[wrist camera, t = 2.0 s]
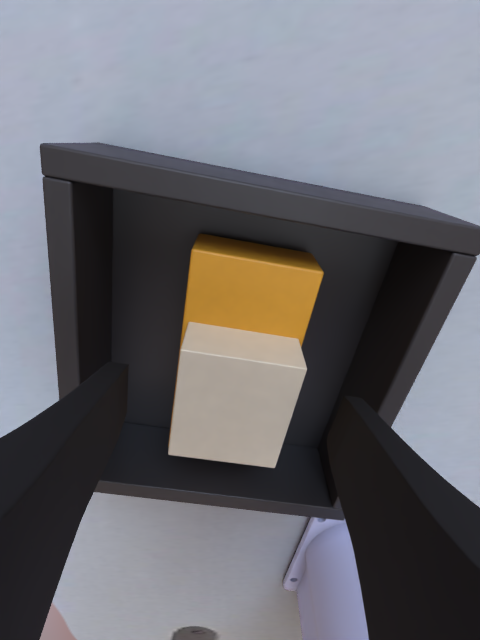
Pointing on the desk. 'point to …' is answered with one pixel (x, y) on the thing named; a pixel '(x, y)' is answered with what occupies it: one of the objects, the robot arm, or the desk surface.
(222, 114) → the desk surface
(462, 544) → the robot arm
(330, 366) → the storage box
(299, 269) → the two-tone block
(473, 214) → the desk surface
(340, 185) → the desk surface
